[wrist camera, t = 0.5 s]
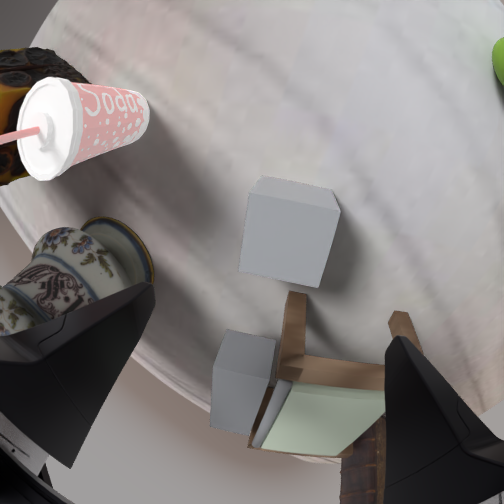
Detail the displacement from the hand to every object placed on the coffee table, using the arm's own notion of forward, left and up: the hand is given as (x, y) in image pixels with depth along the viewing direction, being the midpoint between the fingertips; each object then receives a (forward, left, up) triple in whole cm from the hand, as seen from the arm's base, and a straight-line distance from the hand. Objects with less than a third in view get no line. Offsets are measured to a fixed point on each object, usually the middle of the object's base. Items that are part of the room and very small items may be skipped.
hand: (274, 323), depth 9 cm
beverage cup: (+14, -6, -12) cm, 19 cm away
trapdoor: (-4, +15, -8) cm, 17 cm away
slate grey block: (0, 0, -12) cm, 12 cm away
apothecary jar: (+16, +8, -12) cm, 22 cm away
